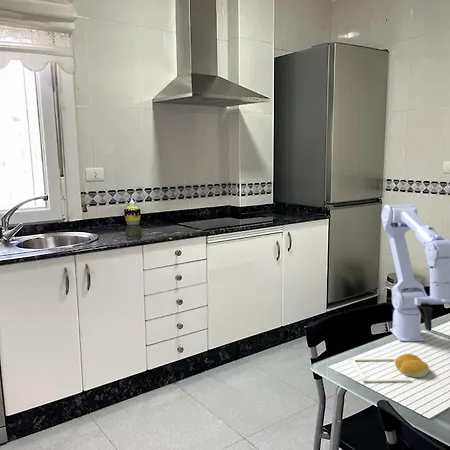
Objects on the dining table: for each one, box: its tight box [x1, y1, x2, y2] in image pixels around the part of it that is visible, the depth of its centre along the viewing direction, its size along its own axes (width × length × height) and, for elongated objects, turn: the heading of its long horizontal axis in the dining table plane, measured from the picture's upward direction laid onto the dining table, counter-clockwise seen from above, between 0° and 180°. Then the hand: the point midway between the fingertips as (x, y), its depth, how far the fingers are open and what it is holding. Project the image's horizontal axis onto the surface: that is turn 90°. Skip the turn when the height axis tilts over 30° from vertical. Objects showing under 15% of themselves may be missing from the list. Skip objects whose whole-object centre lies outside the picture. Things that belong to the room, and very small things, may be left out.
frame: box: [349, 357, 412, 384], centre depth 126 cm, size 13×12×1 cm
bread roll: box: [394, 353, 430, 378], centre depth 126 cm, size 8×9×4 cm
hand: (441, 329), depth 129 cm, fingers open, 7 cm apart
